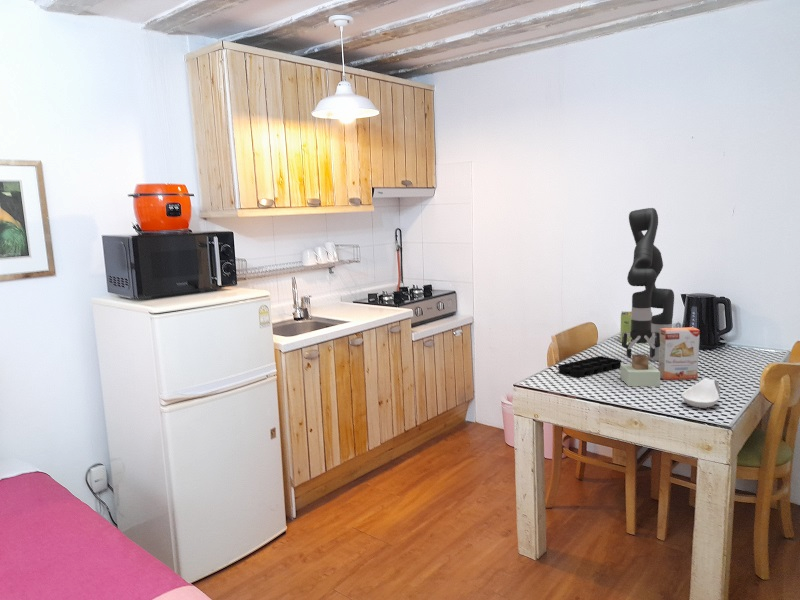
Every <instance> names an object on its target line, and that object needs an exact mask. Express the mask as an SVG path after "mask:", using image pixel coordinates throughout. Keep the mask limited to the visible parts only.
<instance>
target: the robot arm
mask: <svg viewBox="0 0 800 600" xmlns="http://www.w3.org/2000/svg"><path fill="white" fill-rule="evenodd" d="M658 215H659V214H658V211H657V210H656V208H654V207H646V208H641V209H636V210H635V209H634V210H632V211H630V212H629V214H628V223H629V227H630V230H631V234H632V236H633V239H634V242H635V247H634V251H633V262H632V265H631V266H630V269H629V271H628V273H627V283H628V284H629V285H630V286H632V287H644V288H645V289H644V290H641V291H636V292H633V293H632V296H631V311H630V312H631V332H630V333H625V332H623V334H622V343H621V347H623V348H624V349H626V357H627V358H629V359H632V348H633V347H634V345H636V344H635V343H646V342H647V343H648V344H647V345H649V354H648V355H649V360H651V361H655V362H659V347H660V328H673V318H674V317H673V316H674V307H675V306H674V305H675V292H674V290H672V289H671V288H657V286H656V281H657V278H658V277H659V276H660V274H661V272H662V270H663V268H664V262H663V257H662V253H661V251H660V249H659V248H658V247H657V246H656V245H655V239H656V236H657V231H658V226H659V216H658ZM643 232H645V233H644V234H643ZM652 309H662V312H661V313H659V314H656V315H655V314H654V315H653V312H652ZM651 312H652V313H651ZM629 336H631V338H632V339H631V340H630V341H629V343H627V338H628V337H629Z"/></svg>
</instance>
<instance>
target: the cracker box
mask: <svg viewBox="0 0 800 600" xmlns="http://www.w3.org/2000/svg"><path fill="white" fill-rule="evenodd" d="M700 331H701V330H700V329H698V328H696V327H691V326H689V327H672V328H660V347H659V361H658V367H657V370H659V371H660V379H662V380H664V381H665V380H666V381H667V380H671V381H672V380H698V374H699V358H700V357H699V356H700V355H699V352H700V337H701V336H700V334H701V332H700Z"/></svg>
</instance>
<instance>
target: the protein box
mask: <svg viewBox="0 0 800 600" xmlns="http://www.w3.org/2000/svg"><path fill="white" fill-rule="evenodd" d="M651 313H652V314H653V312H652V311H651ZM623 332H625V333H630V332H631V311H626V310H625V311H621V314H620V335H619V336H620V342H622V334H623ZM631 339H632V338H631V336H629V337H628V338H627V342H629V341H630V340H631ZM646 343H647V342H646Z"/></svg>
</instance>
